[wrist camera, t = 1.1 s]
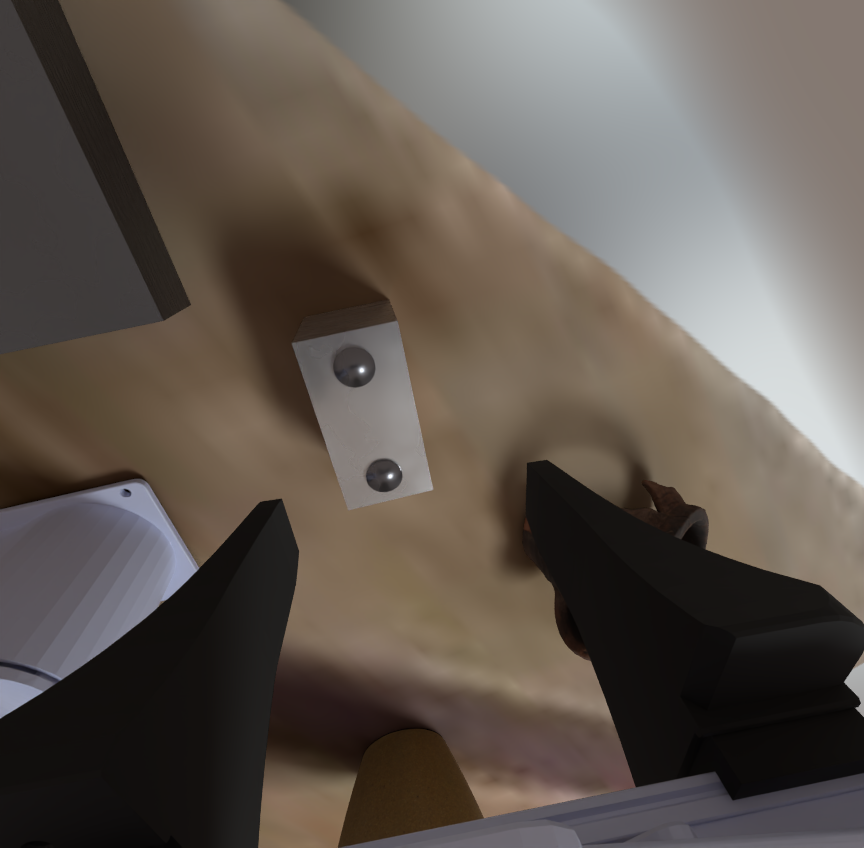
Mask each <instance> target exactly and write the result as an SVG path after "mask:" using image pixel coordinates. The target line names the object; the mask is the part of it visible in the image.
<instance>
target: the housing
mask: <svg viewBox="0 0 864 848" xmlns="http://www.w3.org/2000/svg"><path fill="white" fill-rule="evenodd" d="M292 346H293V349H294V352H295V355H296V358H297V361H298V364H299V366H300V369H301V372H302V375H303V378H304V381H305V384H306V387H307V390H308V393H309V396H310V399H311V402H312V405H313V408H314V411H315V414H316V417H317V419H318V422H319V425H320V428H321V431H322V434H323V437H324V440H325V443H326V446H327V449H328V452H329V455H330V458H331V461H332V464H333V467H334V469H335V472H336V475H337V478H338V481H339V484H340V487H341V490H342V493H343V496H344V499H345V502H346V505H347V508H348V510H352V509H356V508H360V507H364V506H368V505H372V504H376V503H381V502H385V501H389V500H393V499H397V498H401V497H405V496H410V495H414V494H418V493H422V492H426V491H430V490H433V487H432V482H431V477H430V472H429V468H428V463H427V458H426V454H425V449H424V444H423V439H422V435H421V430H420V425H419V420H418V416H417V411H416V406H415V401H414V397H413V392H412V387H411V382H410V378H409V373H408V368H407V364H406V359H405V354H404V349H403V345H402V340H401V335H400V330H399V326H398V321H397V318H396V316H395V313H394V311H393V308H392V305H391V303H390V300H384V301H379V302H374V303H370V304H365V305H360V306H355V307H350V308H346V309H341V310H336V311H331V312H327V313H322V314H317V315H312V316H308V317H304V319H303V321H302V323H301V325H300V327H299V329H298V331H297V333H296V335H295V337H294V339H293V342H292Z"/></svg>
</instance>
